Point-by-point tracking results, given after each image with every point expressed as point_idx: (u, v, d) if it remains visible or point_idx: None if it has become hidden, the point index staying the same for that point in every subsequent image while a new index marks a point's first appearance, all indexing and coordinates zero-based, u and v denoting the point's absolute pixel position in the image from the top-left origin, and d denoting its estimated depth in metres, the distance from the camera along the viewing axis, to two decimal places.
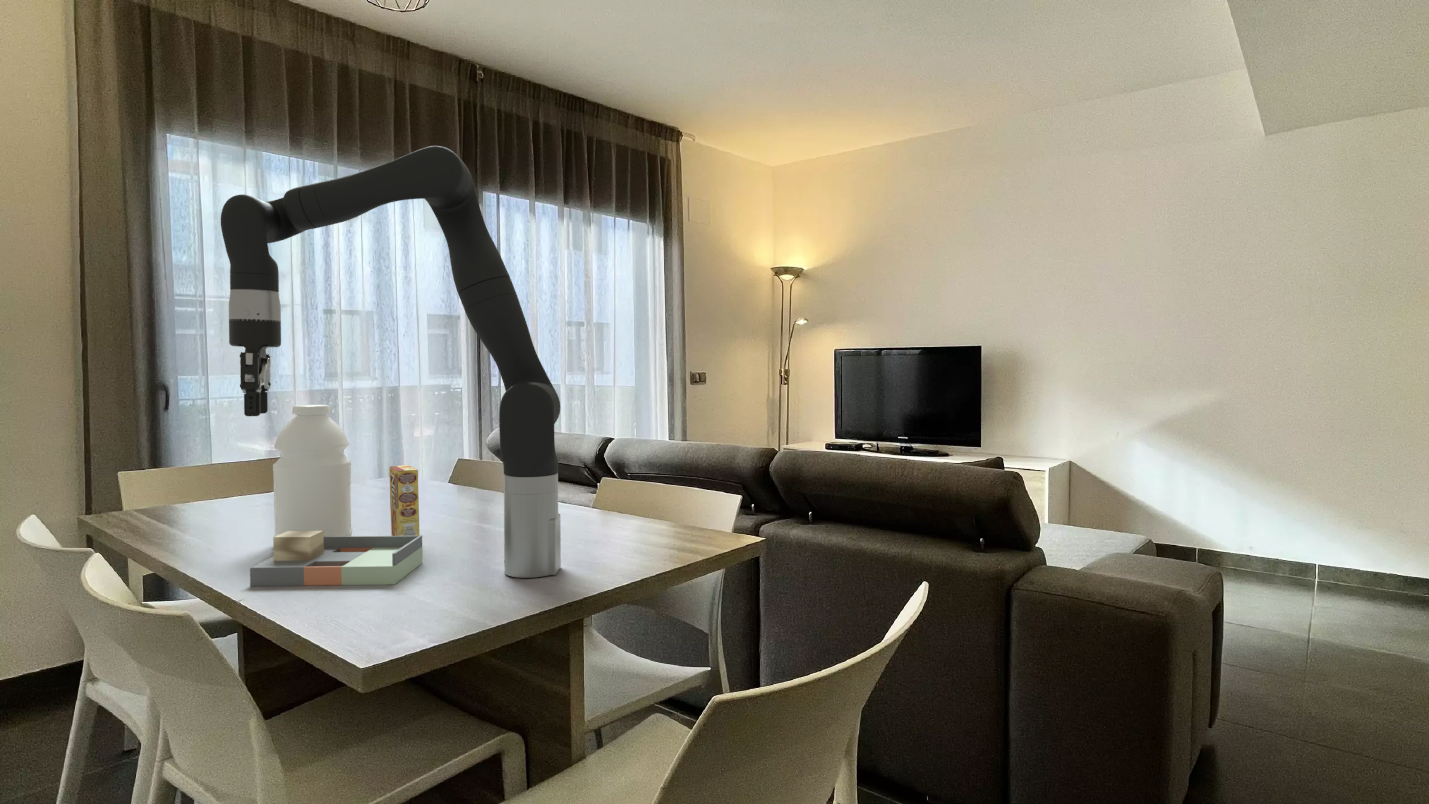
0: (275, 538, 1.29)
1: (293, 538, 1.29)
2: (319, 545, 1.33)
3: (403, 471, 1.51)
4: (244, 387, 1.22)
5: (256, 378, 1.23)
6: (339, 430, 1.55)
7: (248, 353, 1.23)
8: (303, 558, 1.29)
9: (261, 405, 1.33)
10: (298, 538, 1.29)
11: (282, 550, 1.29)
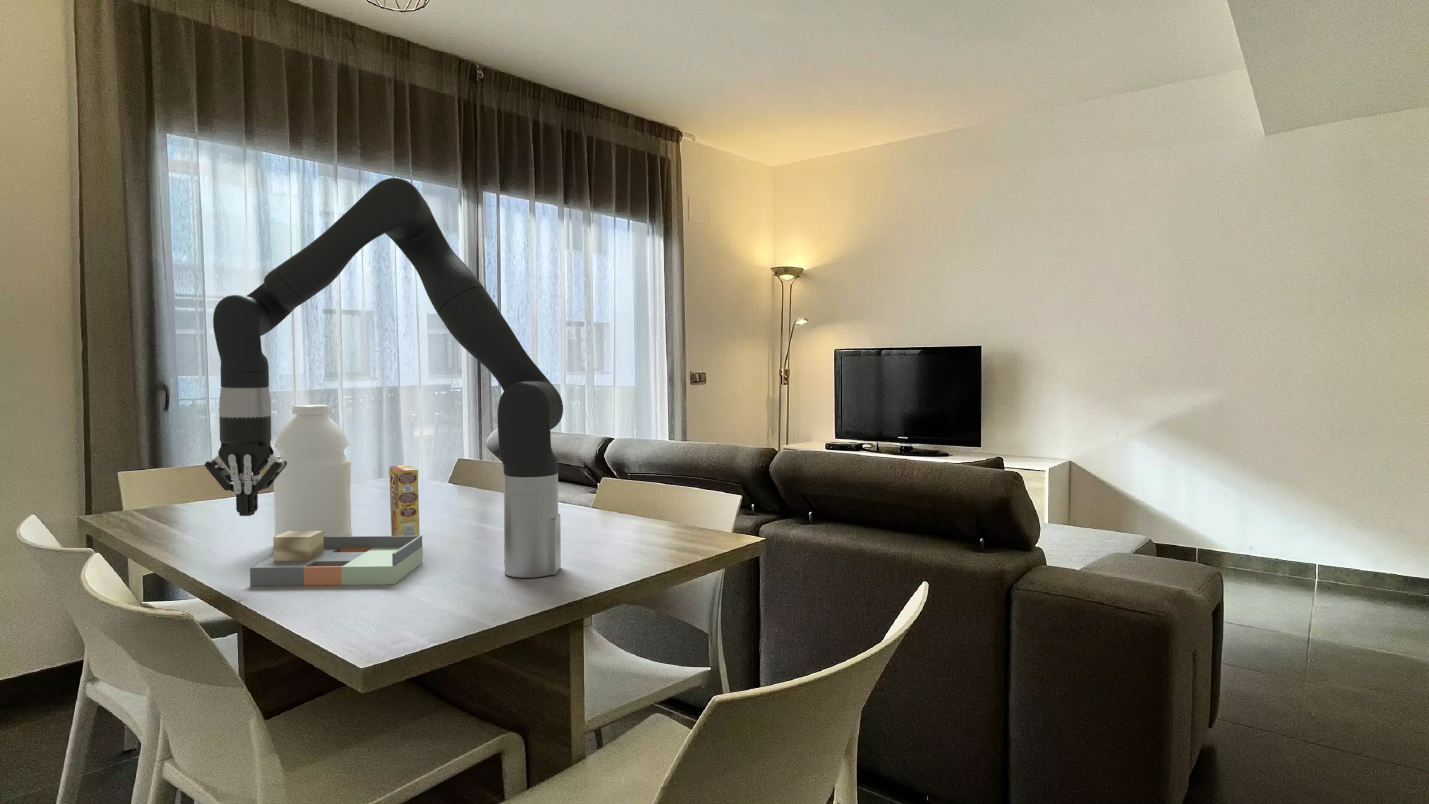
0: (275, 538, 1.29)
1: (293, 538, 1.29)
2: (319, 545, 1.33)
3: (403, 471, 1.51)
4: (263, 488, 1.30)
5: (272, 482, 1.32)
6: (339, 430, 1.55)
7: (283, 464, 1.31)
8: (303, 558, 1.29)
9: None
10: (298, 538, 1.29)
11: (282, 550, 1.29)
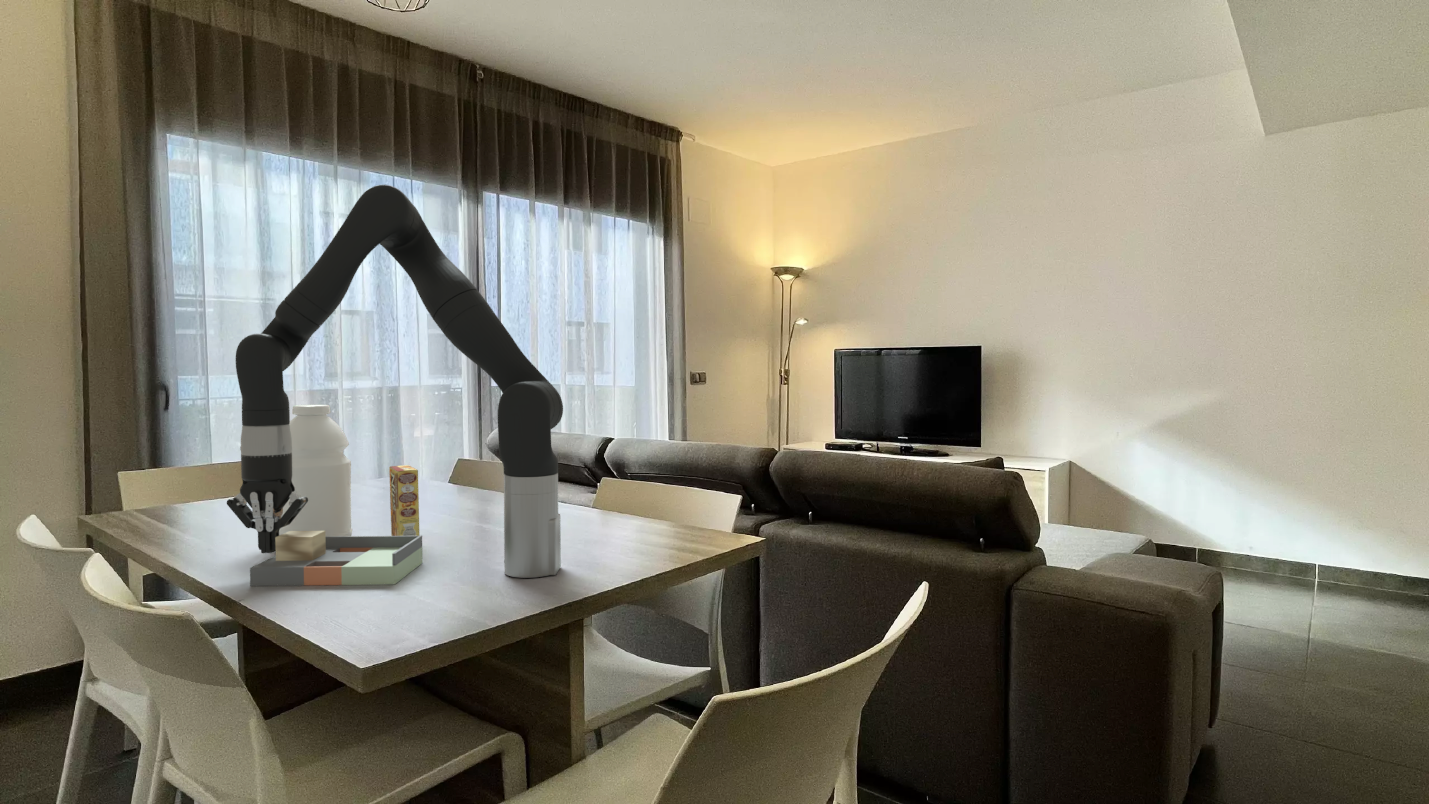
0: (277, 538, 1.29)
1: (295, 538, 1.29)
2: (321, 545, 1.33)
3: (403, 471, 1.51)
4: (285, 525, 1.31)
5: (293, 518, 1.32)
6: (339, 430, 1.55)
7: (304, 501, 1.31)
8: (305, 558, 1.29)
9: None
10: (300, 538, 1.29)
11: (284, 550, 1.29)
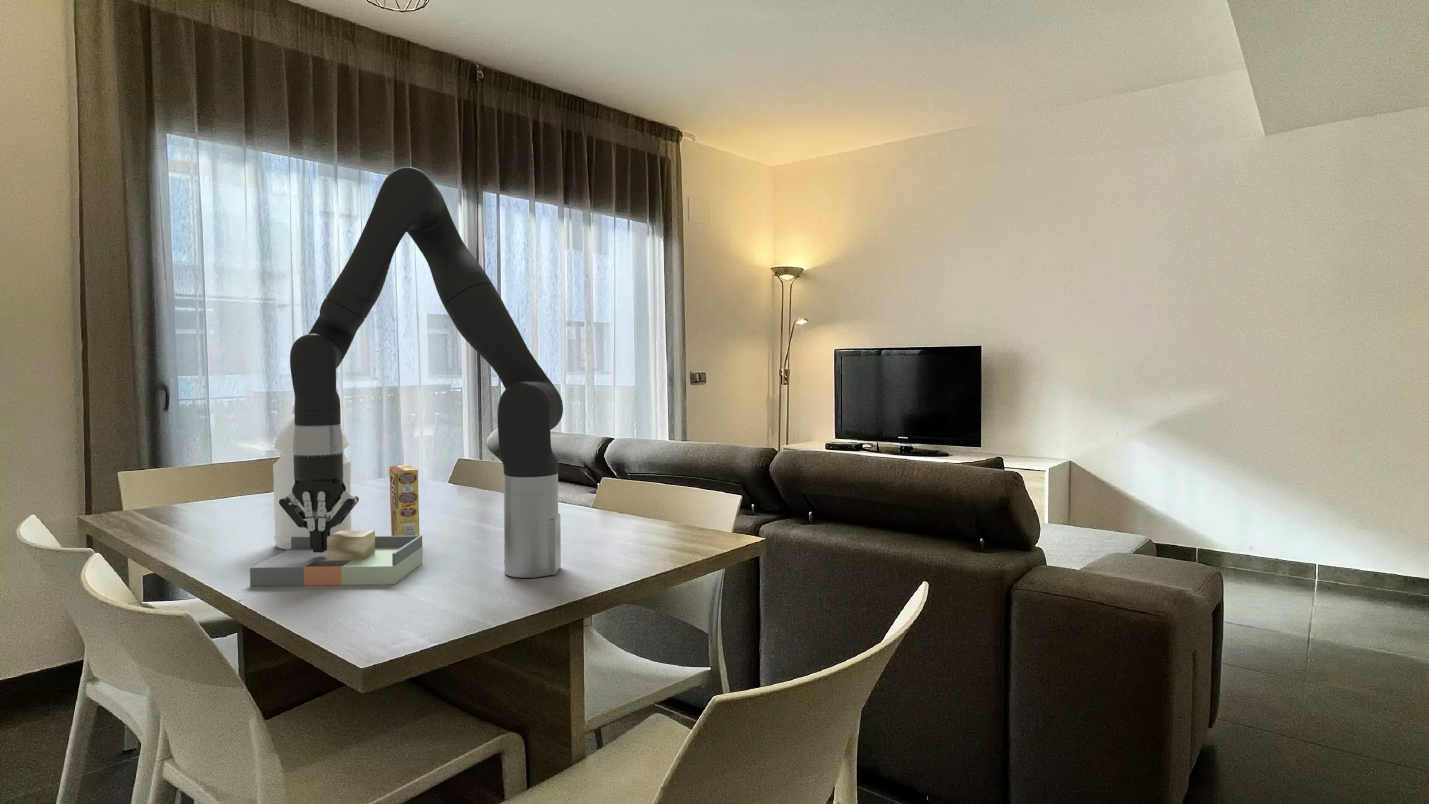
0: (329, 538, 1.29)
1: (347, 538, 1.29)
2: (371, 545, 1.33)
3: (403, 471, 1.51)
4: (336, 524, 1.31)
5: (344, 518, 1.33)
6: None
7: (355, 500, 1.32)
8: (356, 558, 1.29)
9: None
10: (352, 538, 1.29)
11: (335, 550, 1.29)
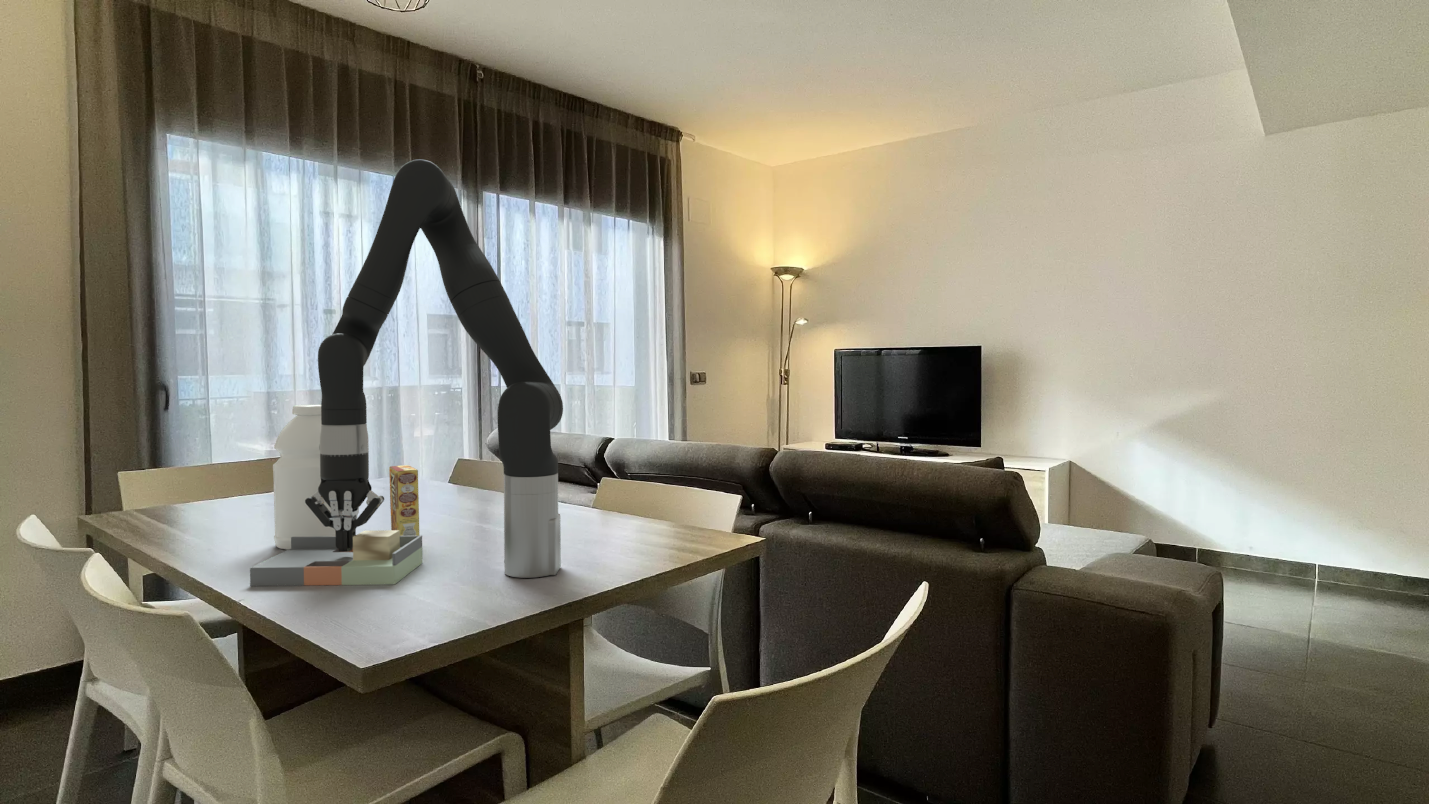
0: (354, 538, 1.29)
1: (372, 538, 1.29)
2: (396, 545, 1.33)
3: (403, 471, 1.51)
4: (362, 524, 1.31)
5: (370, 517, 1.33)
6: None
7: (381, 500, 1.32)
8: (382, 558, 1.30)
9: None
10: (377, 538, 1.29)
11: (361, 550, 1.29)
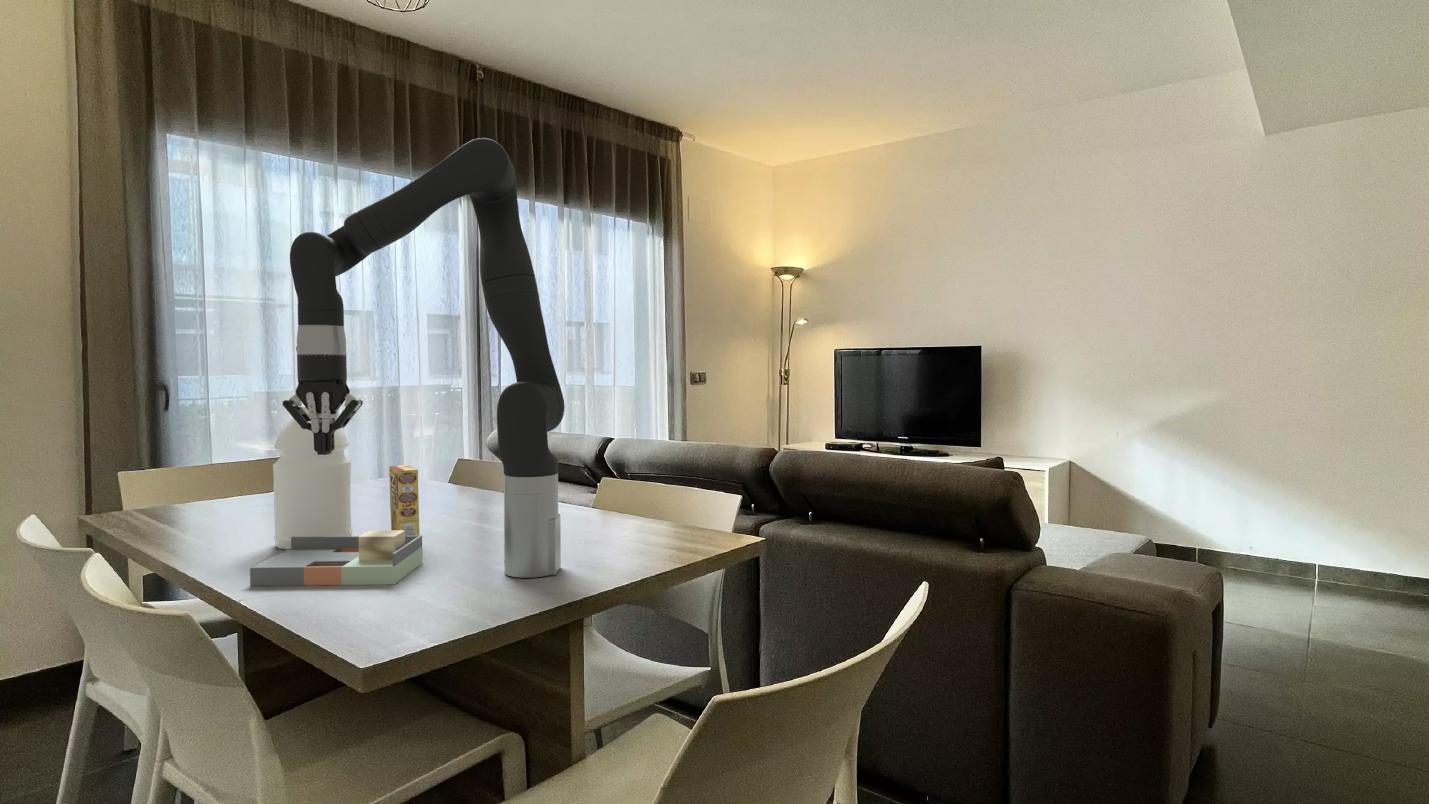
0: (360, 538, 1.29)
1: (378, 538, 1.29)
2: (402, 545, 1.33)
3: (403, 471, 1.51)
4: (340, 426, 1.30)
5: (348, 421, 1.32)
6: (339, 430, 1.55)
7: (359, 402, 1.31)
8: (388, 558, 1.30)
9: None
10: (383, 538, 1.30)
11: (367, 550, 1.29)
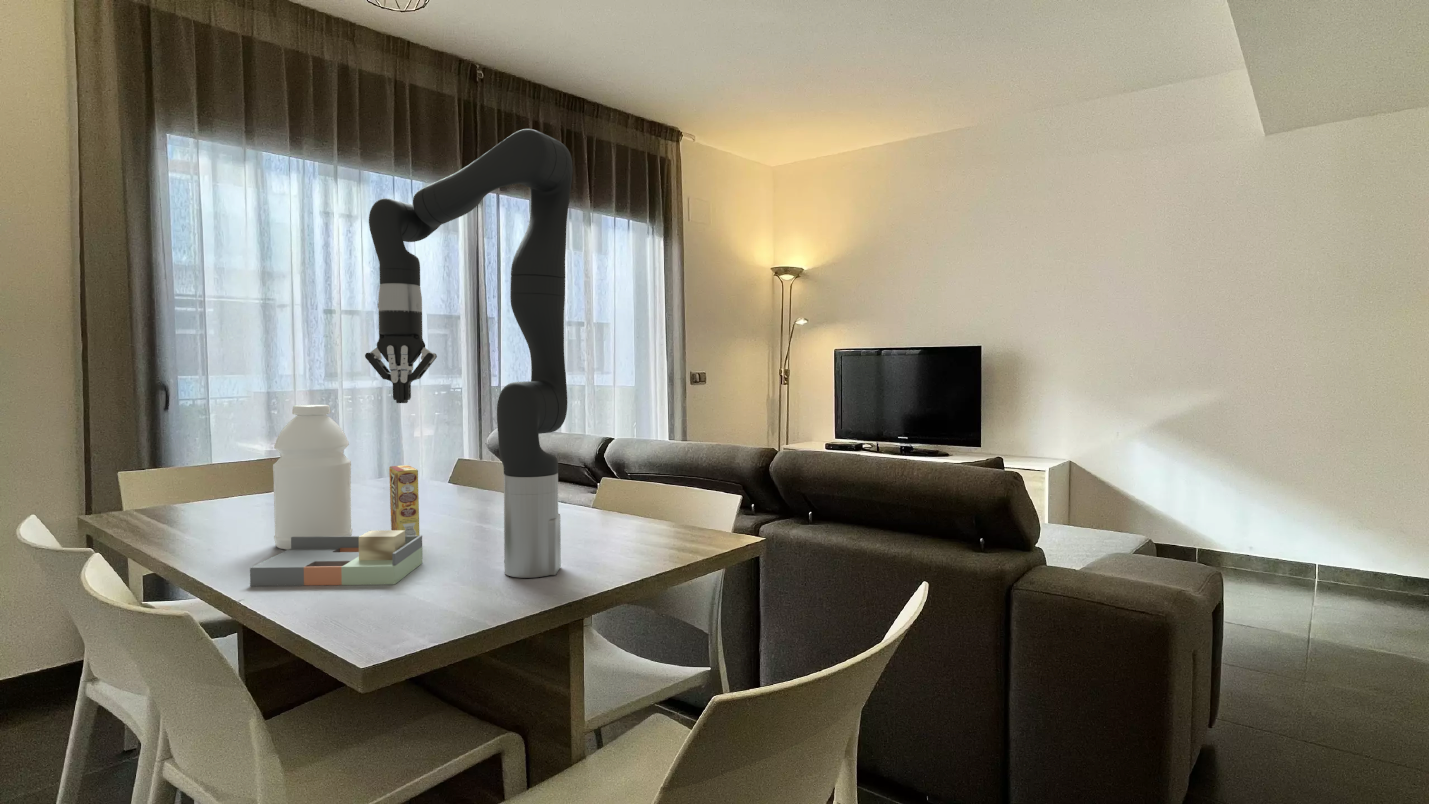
0: (360, 538, 1.29)
1: (378, 538, 1.29)
2: (402, 545, 1.33)
3: (403, 471, 1.51)
4: (417, 377, 1.42)
5: None
6: (339, 430, 1.55)
7: (434, 356, 1.43)
8: (388, 558, 1.30)
9: None
10: (383, 538, 1.30)
11: (367, 550, 1.29)
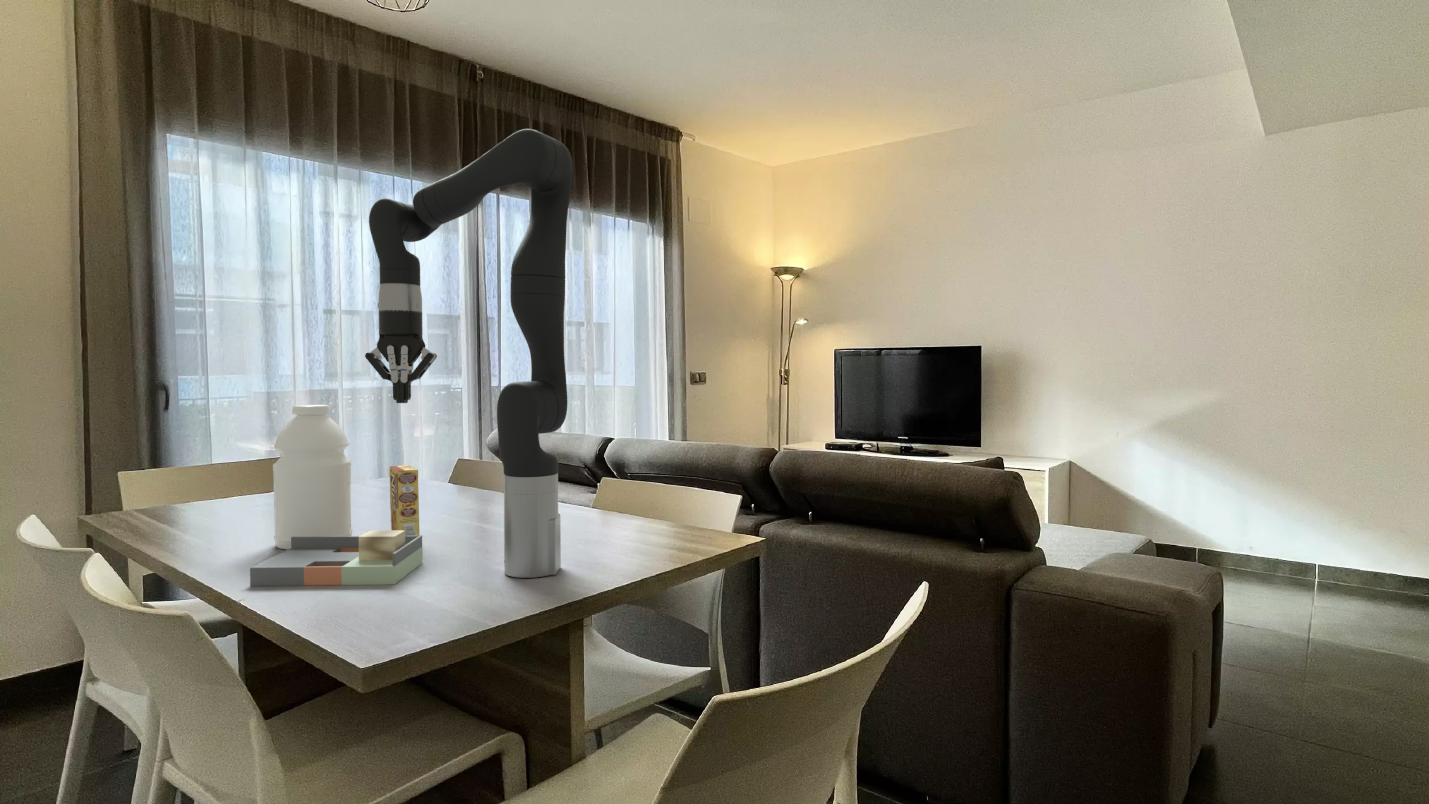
0: (360, 538, 1.29)
1: (378, 538, 1.29)
2: (402, 545, 1.33)
3: (403, 471, 1.51)
4: (417, 377, 1.42)
5: None
6: (339, 430, 1.55)
7: (434, 356, 1.43)
8: (388, 558, 1.30)
9: None
10: (383, 538, 1.30)
11: (367, 550, 1.29)
